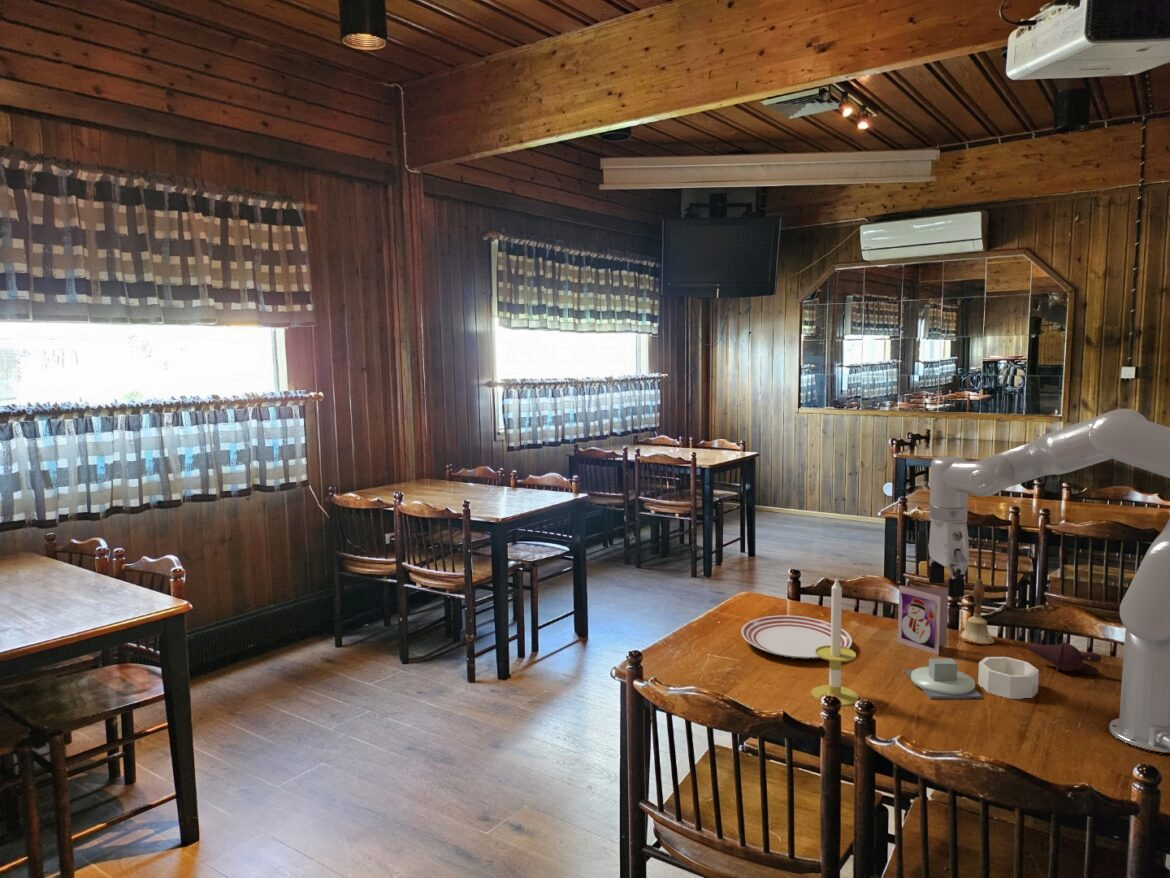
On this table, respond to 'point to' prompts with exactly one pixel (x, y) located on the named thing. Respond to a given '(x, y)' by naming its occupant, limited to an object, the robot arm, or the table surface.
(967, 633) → the hand bell
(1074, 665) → the icecream
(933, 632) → the greeting card
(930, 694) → the mat
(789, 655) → the dinner plate
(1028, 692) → the bowl
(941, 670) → the lid
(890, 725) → the table surface
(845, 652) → the candle
